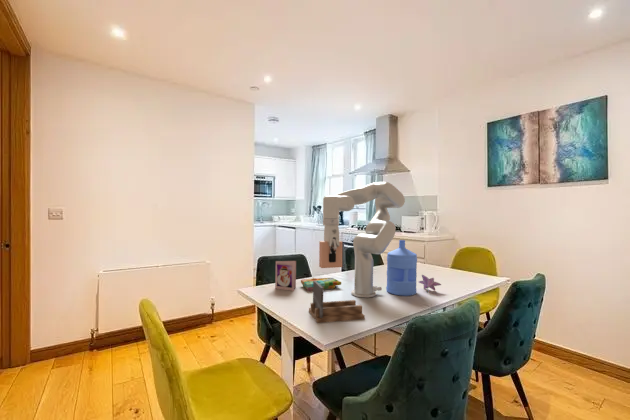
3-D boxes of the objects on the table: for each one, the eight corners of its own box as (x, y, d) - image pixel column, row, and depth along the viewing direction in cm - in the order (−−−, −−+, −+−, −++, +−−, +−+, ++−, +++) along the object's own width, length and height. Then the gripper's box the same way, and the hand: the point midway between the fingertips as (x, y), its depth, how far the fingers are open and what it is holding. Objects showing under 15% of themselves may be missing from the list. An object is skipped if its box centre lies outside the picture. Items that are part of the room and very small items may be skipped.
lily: (443, 295, 167) (443, 279, 171) (429, 289, 162) (430, 273, 166) (426, 297, 175) (427, 281, 179) (413, 291, 171) (414, 275, 175)
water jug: (382, 288, 176) (383, 238, 175) (409, 288, 177) (410, 238, 176) (391, 296, 160) (392, 242, 160) (421, 296, 161) (422, 242, 161)
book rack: (351, 308, 141) (352, 278, 141) (364, 319, 127) (365, 286, 127) (308, 311, 136) (309, 280, 136) (317, 323, 122) (317, 288, 122)
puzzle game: (300, 278, 178) (332, 276, 185) (300, 286, 178) (332, 284, 185) (307, 283, 167) (341, 280, 174) (307, 292, 167) (341, 289, 174)
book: (339, 265, 150) (339, 240, 149) (342, 267, 146) (342, 241, 146) (319, 266, 147) (319, 241, 147) (321, 268, 143) (321, 242, 143)
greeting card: (274, 288, 171) (274, 261, 171) (280, 285, 178) (281, 259, 178) (293, 291, 167) (293, 263, 167) (299, 287, 174) (299, 261, 174)
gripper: (344, 223, 139) (344, 264, 139) (333, 221, 155) (332, 257, 156) (328, 223, 137) (328, 264, 137) (318, 221, 153) (318, 258, 154)
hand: (330, 260), depth 146 cm, fingers closed on book, 4 cm apart
